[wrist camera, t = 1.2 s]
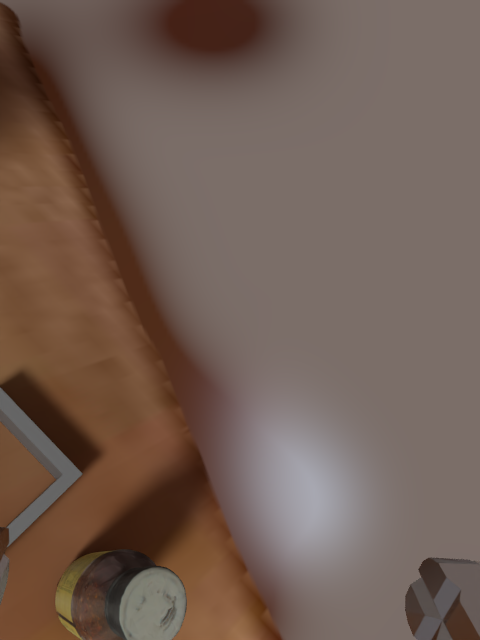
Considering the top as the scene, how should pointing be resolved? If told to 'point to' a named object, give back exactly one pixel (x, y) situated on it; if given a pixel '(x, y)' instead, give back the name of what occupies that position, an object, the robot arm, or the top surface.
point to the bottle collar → (45, 453)
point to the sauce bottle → (120, 598)
